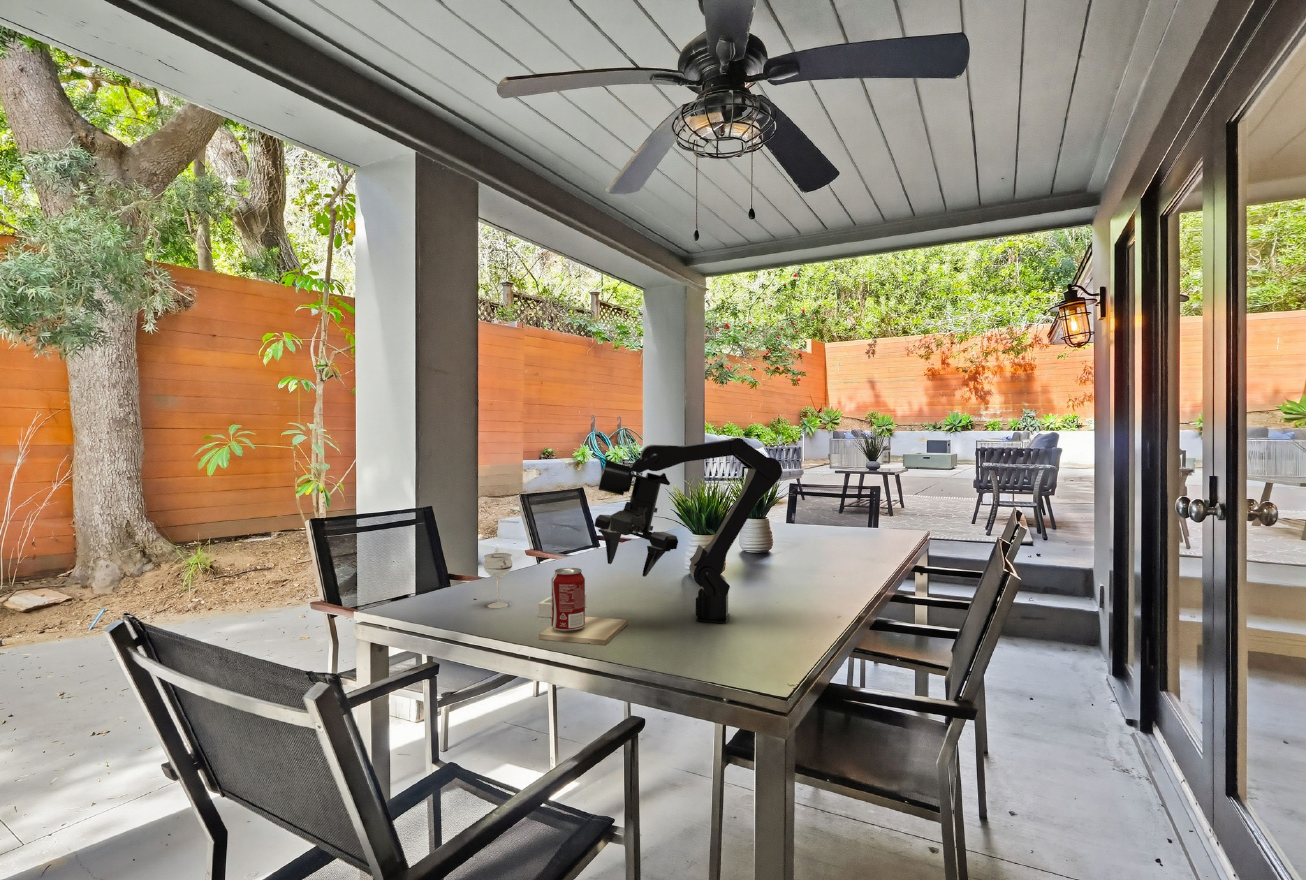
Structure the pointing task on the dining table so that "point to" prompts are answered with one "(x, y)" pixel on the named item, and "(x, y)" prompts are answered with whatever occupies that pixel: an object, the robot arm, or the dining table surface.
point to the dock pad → (588, 631)
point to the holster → (547, 607)
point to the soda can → (568, 600)
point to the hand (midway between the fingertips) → (626, 569)
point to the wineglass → (497, 571)
